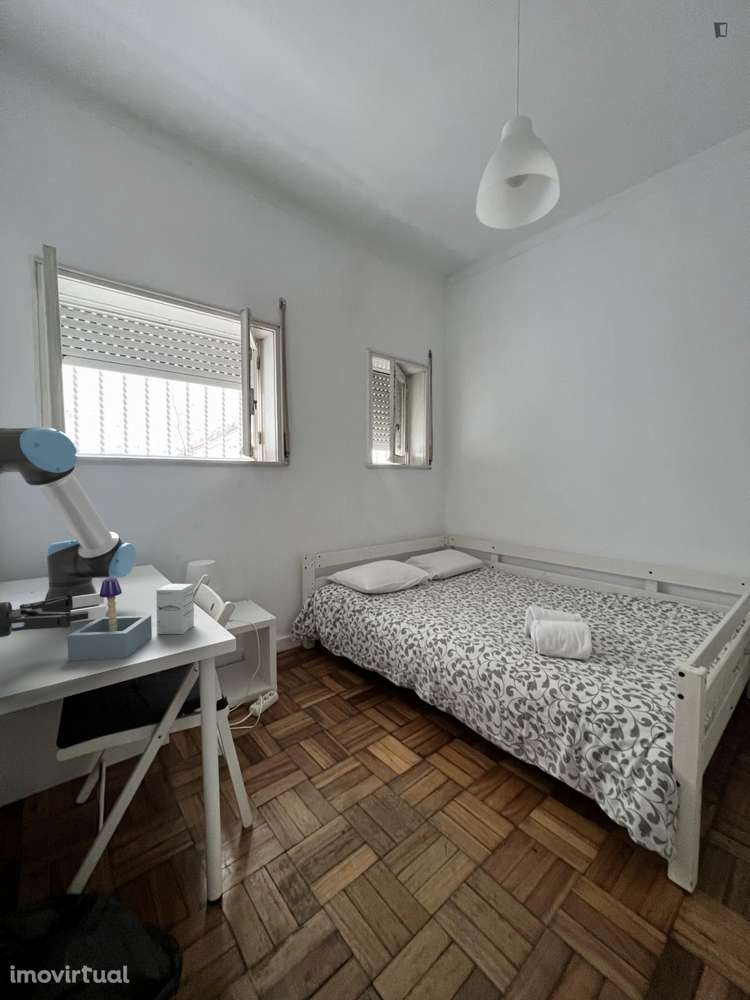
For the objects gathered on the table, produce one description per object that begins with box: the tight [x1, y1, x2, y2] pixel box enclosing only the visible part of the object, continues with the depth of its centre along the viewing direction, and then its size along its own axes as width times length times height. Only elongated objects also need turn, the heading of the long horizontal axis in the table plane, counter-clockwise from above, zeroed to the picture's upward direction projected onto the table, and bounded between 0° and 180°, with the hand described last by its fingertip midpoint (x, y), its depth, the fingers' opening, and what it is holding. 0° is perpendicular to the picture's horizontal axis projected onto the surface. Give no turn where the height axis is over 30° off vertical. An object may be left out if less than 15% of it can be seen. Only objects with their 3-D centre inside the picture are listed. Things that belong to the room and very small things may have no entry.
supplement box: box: [156, 583, 195, 635], centre depth 111 cm, size 7×7×13 cm
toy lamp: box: [99, 578, 123, 632], centre depth 98 cm, size 5×5×17 cm
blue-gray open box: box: [66, 614, 153, 662], centre depth 99 cm, size 13×13×6 cm
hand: (104, 604), depth 97 cm, fingers open, 13 cm apart
